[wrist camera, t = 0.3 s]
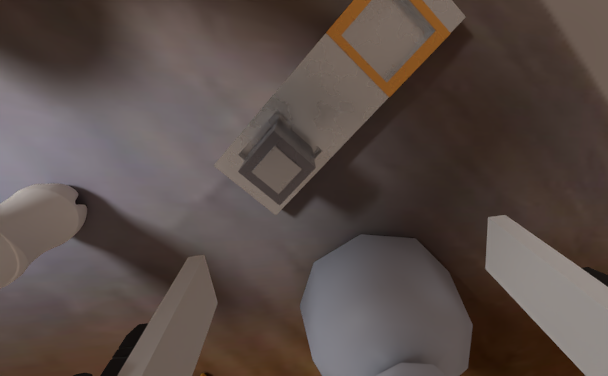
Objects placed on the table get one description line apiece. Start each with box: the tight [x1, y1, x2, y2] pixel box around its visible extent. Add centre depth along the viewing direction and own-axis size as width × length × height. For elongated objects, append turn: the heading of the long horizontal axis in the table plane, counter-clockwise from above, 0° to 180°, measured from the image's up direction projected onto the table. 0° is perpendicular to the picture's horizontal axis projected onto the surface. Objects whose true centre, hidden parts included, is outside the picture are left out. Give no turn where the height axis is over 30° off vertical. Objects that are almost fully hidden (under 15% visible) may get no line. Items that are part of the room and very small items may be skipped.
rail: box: [214, 0, 465, 215], centre depth 35 cm, size 9×28×3 cm, turn 138°
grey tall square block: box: [238, 118, 316, 205], centre depth 33 cm, size 5×5×8 cm
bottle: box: [300, 234, 473, 376], centre depth 36 cm, size 20×20×19 cm
